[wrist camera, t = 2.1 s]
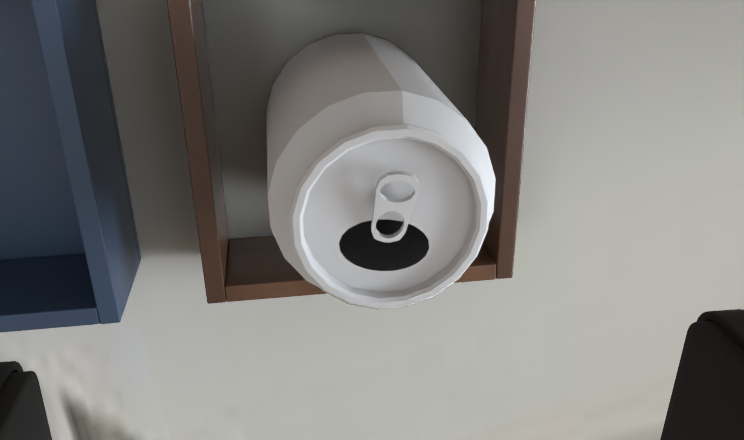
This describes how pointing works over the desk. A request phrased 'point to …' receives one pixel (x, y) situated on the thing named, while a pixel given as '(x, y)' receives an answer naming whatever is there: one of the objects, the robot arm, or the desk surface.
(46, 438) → the robot arm
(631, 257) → the desk surface
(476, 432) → the desk surface
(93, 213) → the bin
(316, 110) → the can
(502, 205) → the crate
